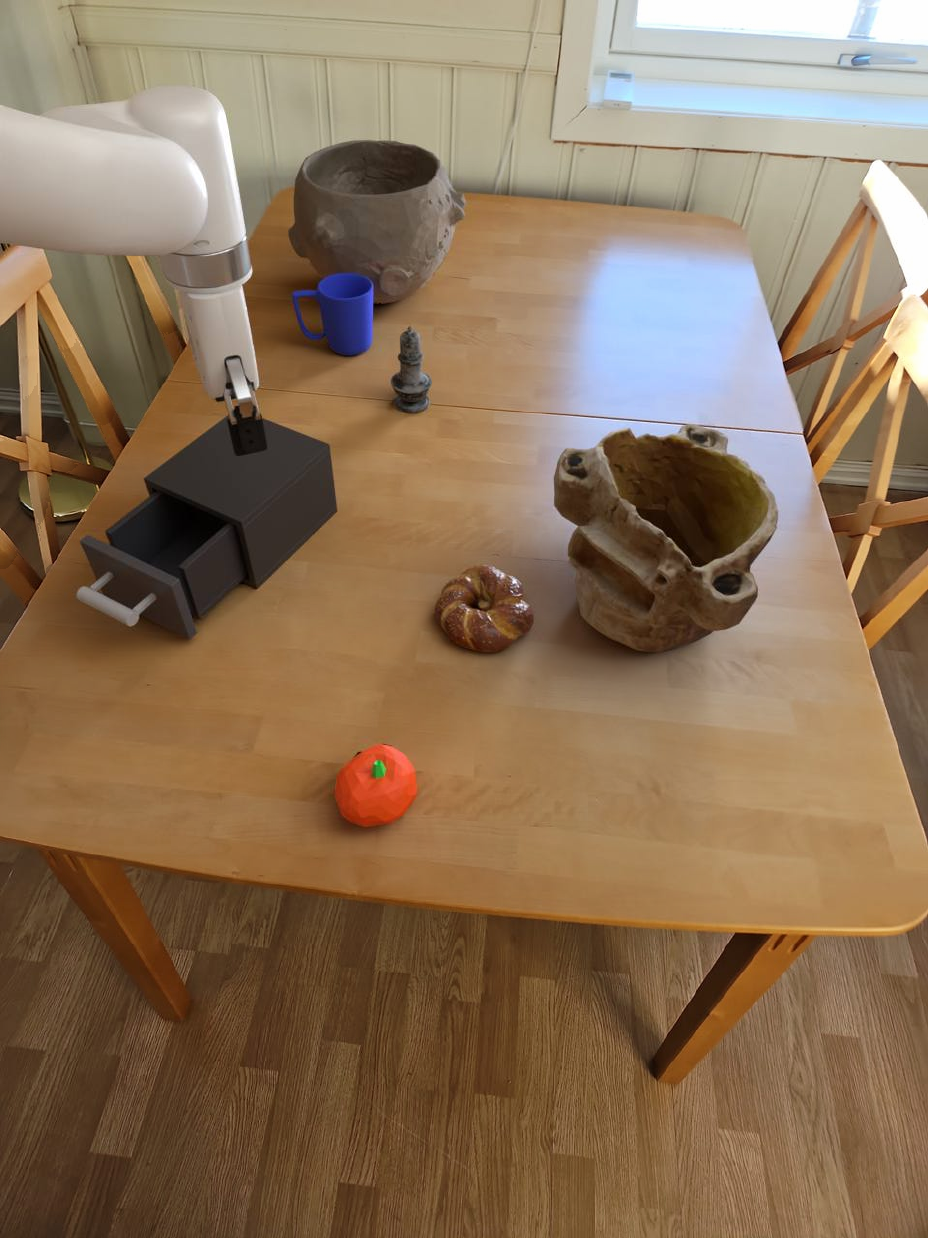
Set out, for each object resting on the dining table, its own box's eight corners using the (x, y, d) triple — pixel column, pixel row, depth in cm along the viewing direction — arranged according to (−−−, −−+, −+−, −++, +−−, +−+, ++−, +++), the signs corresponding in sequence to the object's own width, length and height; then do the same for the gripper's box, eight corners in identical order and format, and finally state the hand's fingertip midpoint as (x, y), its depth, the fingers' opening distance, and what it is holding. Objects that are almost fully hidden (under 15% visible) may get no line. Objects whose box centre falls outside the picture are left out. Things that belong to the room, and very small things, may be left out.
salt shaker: (437, 395, 121) (437, 319, 112) (423, 417, 117) (422, 340, 108) (400, 387, 122) (397, 311, 113) (385, 409, 118) (381, 332, 109)
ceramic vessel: (865, 568, 87) (836, 472, 66) (698, 726, 91) (622, 683, 71) (714, 452, 99) (649, 340, 78) (573, 596, 103) (477, 527, 83)
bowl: (462, 332, 133) (466, 203, 118) (285, 326, 132) (266, 196, 117) (464, 255, 151) (467, 134, 136) (308, 250, 150) (294, 128, 135)
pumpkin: (319, 810, 76) (311, 774, 71) (376, 751, 80) (373, 714, 75) (378, 855, 73) (374, 820, 68) (434, 792, 77) (434, 755, 73)
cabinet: (257, 589, 94) (241, 522, 86) (166, 546, 98) (143, 478, 91) (337, 511, 103) (329, 444, 95) (251, 474, 107) (237, 407, 100)
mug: (299, 334, 131) (291, 273, 123) (375, 332, 132) (372, 271, 124) (298, 362, 125) (290, 300, 118) (377, 359, 127) (374, 298, 119)
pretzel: (431, 579, 96) (431, 556, 93) (524, 576, 97) (527, 553, 94) (437, 659, 88) (437, 637, 85) (537, 655, 89) (541, 633, 86)
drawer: (161, 668, 85) (139, 614, 79) (73, 620, 89) (46, 566, 83) (275, 558, 96) (264, 503, 90) (193, 520, 100) (177, 465, 94)
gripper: (145, 222, 75) (188, 386, 88) (178, 312, 64) (220, 483, 77) (228, 211, 77) (257, 373, 90) (272, 296, 66) (298, 466, 79)
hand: (240, 423), depth 83 cm, fingers open, 9 cm apart
